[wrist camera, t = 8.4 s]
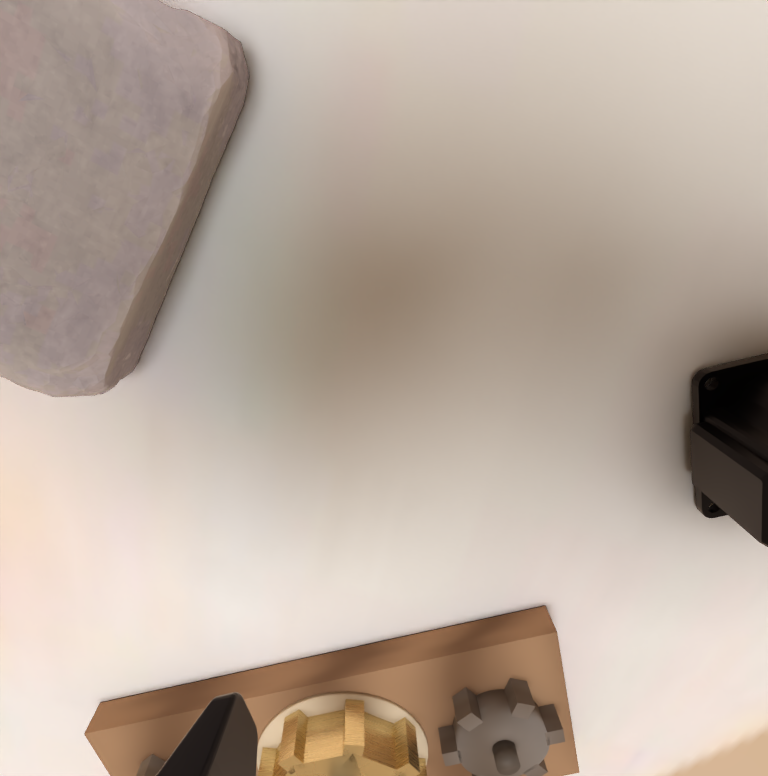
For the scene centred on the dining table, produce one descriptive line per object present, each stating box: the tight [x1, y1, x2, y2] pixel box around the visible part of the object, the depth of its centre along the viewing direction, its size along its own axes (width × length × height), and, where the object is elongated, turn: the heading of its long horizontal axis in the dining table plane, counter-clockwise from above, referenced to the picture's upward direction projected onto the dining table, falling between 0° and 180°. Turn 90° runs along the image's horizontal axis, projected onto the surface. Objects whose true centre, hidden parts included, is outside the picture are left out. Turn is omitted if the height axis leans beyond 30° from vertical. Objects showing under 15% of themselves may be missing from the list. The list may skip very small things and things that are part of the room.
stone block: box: [0, 0, 249, 397], centre depth 16 cm, size 12×5×10 cm
